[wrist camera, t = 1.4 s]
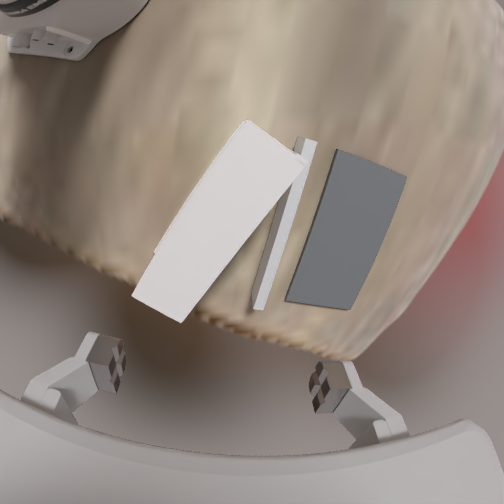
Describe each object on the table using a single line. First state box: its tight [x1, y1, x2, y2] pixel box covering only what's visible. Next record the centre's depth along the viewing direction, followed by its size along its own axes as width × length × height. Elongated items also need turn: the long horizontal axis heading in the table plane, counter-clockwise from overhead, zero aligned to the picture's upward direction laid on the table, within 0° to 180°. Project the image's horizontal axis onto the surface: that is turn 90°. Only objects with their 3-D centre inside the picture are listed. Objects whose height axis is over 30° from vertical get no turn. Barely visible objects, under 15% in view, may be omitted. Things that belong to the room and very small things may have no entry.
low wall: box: [252, 136, 317, 310], centre depth 31 cm, size 1×20×4 cm, turn 166°
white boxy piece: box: [132, 120, 308, 323], centre depth 27 cm, size 20×6×9 cm, turn 143°
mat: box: [285, 149, 407, 310], centre depth 33 cm, size 10×20×1 cm, turn 166°
